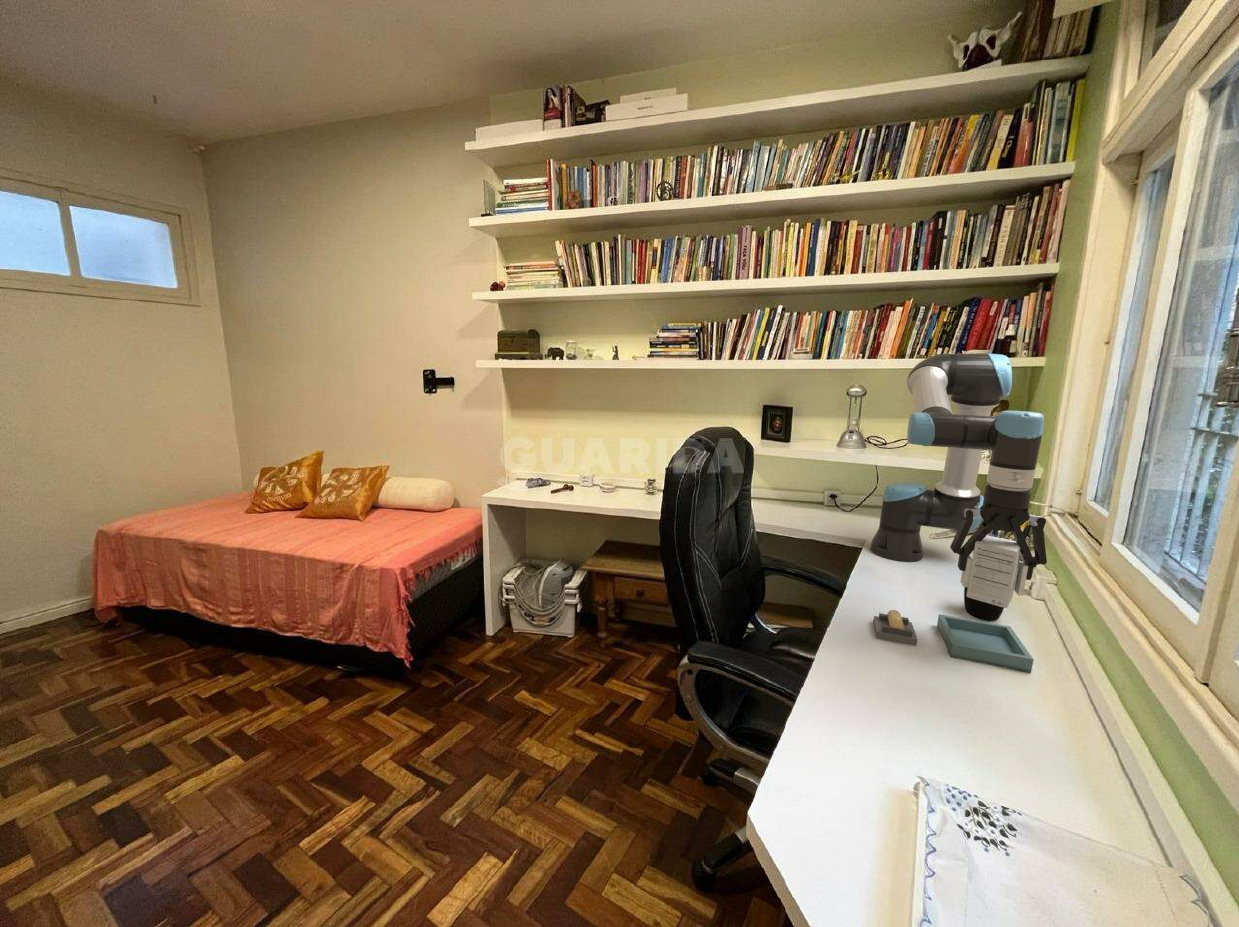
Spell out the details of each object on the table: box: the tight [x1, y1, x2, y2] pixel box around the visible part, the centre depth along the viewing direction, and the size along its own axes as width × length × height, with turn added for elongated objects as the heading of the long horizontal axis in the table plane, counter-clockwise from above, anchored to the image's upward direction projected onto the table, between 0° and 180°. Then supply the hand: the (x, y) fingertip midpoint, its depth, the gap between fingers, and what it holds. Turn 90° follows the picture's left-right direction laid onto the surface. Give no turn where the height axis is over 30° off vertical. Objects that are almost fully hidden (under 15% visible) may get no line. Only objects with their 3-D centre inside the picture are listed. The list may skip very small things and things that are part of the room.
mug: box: [963, 587, 1005, 622], centre depth 125 cm, size 12×9×10 cm
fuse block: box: [872, 609, 919, 647], centre depth 115 cm, size 8×8×4 cm
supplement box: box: [966, 534, 1021, 609], centre depth 107 cm, size 7×7×13 cm
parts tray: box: [936, 613, 1035, 674], centre depth 110 cm, size 14×14×3 cm
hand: (990, 588), depth 108 cm, fingers closed on supplement box, 9 cm apart
